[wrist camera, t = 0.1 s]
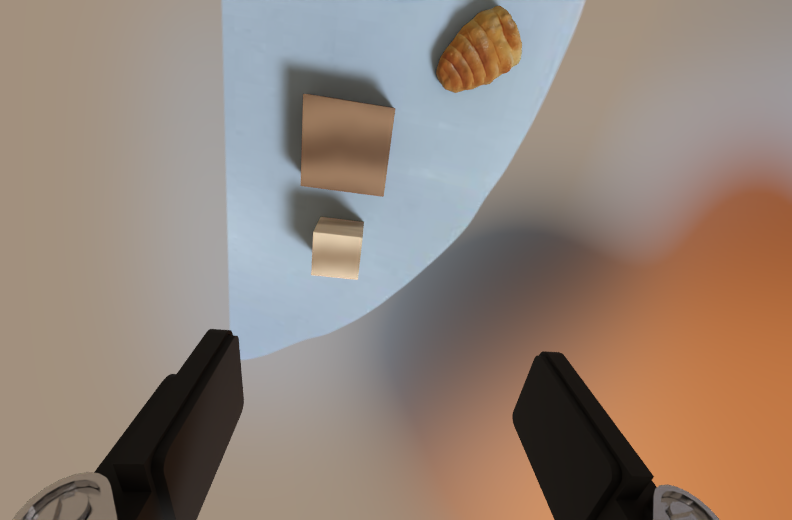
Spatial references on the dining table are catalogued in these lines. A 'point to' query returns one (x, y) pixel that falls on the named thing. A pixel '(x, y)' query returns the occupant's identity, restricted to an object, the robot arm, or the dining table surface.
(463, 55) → the pastry
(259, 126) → the dining table surface
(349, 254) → the maple cube
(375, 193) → the walnut base
